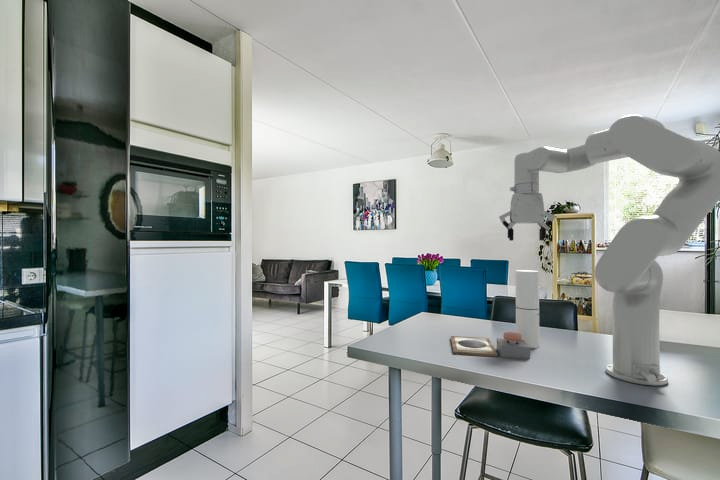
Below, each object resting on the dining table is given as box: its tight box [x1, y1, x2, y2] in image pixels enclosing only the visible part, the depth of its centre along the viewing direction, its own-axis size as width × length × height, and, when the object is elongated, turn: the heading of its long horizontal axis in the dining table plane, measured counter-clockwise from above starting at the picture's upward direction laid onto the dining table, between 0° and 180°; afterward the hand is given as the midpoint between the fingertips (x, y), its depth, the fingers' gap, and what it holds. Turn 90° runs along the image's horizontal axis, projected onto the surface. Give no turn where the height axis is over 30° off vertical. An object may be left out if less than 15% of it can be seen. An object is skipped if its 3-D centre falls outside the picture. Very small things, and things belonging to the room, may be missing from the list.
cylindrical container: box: [515, 269, 540, 349], centre depth 117 cm, size 7×7×25 cm
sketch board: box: [450, 335, 499, 358], centre depth 115 cm, size 18×13×1 cm
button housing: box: [496, 337, 531, 360], centre depth 108 cm, size 8×8×4 cm
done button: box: [503, 331, 522, 344], centre depth 108 cm, size 5×5×4 cm
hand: (526, 240), depth 117 cm, fingers open, 9 cm apart
